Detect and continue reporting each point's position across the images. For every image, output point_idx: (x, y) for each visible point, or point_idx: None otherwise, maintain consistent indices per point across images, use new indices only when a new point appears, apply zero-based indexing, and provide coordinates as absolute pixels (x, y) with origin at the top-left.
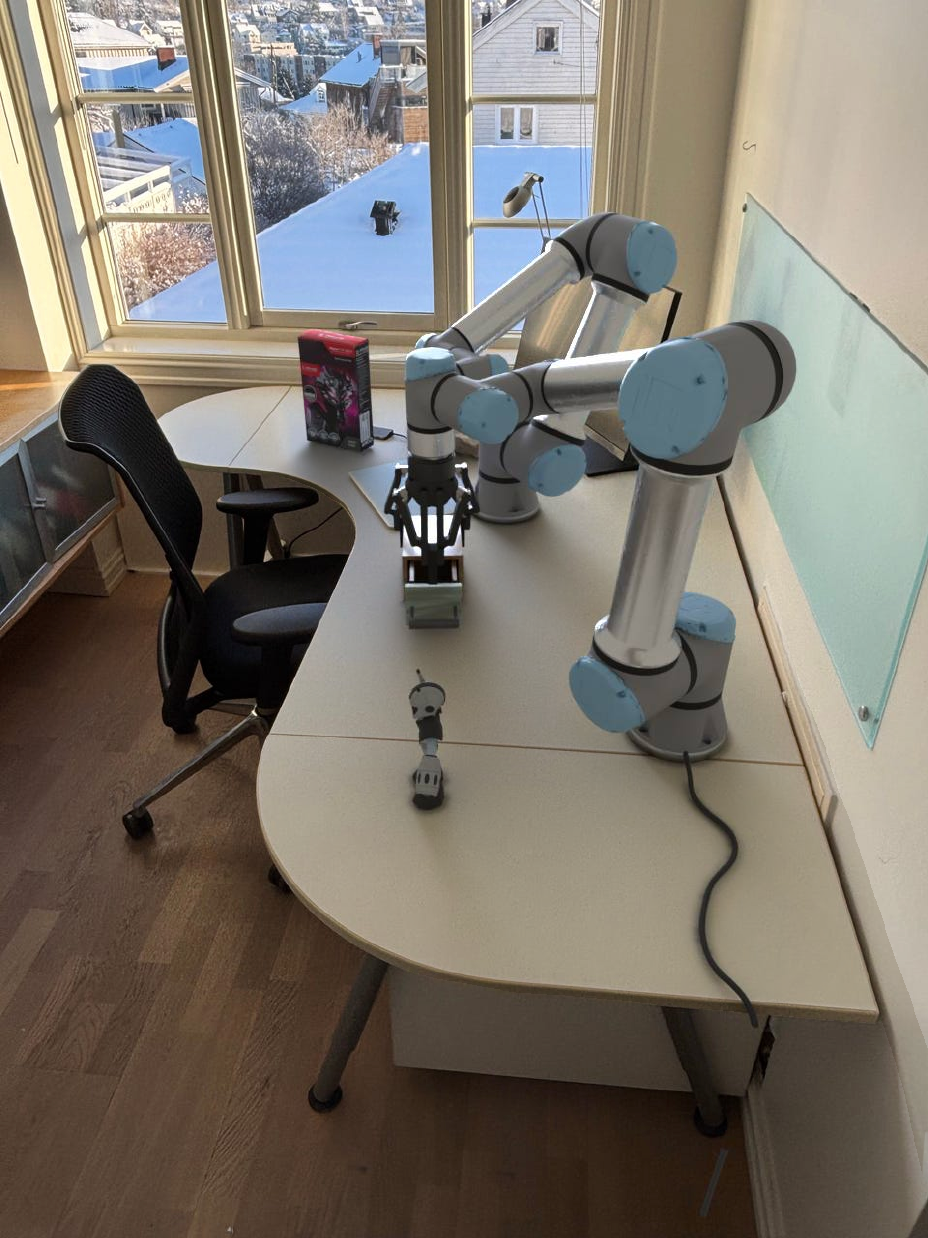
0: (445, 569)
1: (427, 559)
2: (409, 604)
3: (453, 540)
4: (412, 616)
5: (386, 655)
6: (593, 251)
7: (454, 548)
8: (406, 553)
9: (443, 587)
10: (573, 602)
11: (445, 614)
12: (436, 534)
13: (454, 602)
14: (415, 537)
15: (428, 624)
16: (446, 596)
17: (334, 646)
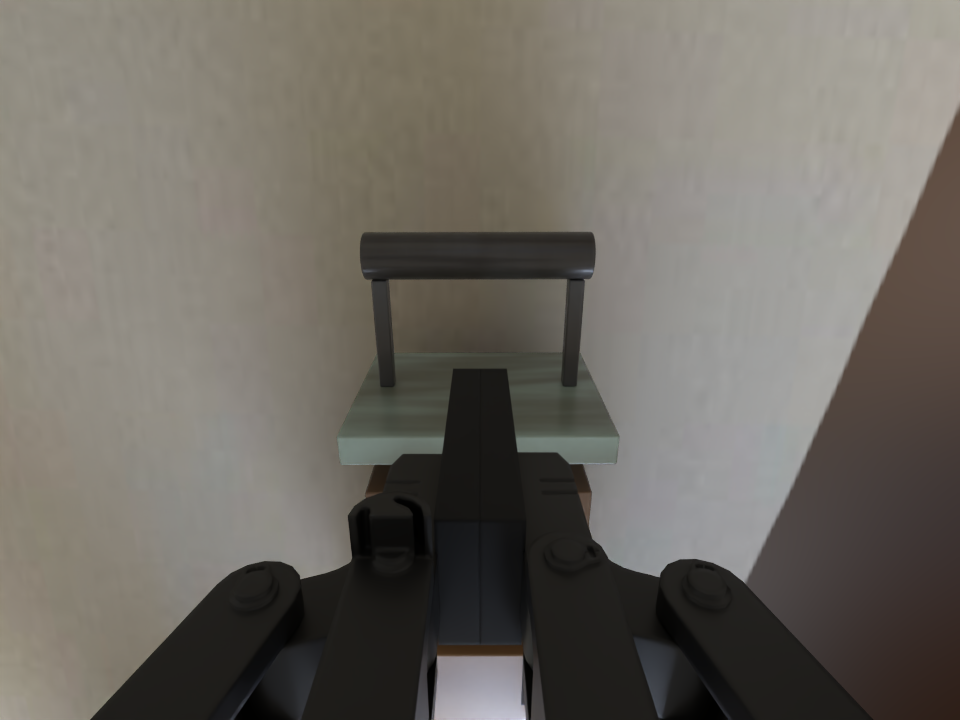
0: None
1: (523, 481)
2: (582, 390)
3: (211, 623)
4: (572, 308)
5: (653, 208)
6: None
7: None
8: None
9: (428, 433)
10: (25, 495)
11: (432, 369)
12: None
13: (387, 394)
14: (717, 667)
15: (503, 237)
16: (419, 409)
17: (833, 269)
